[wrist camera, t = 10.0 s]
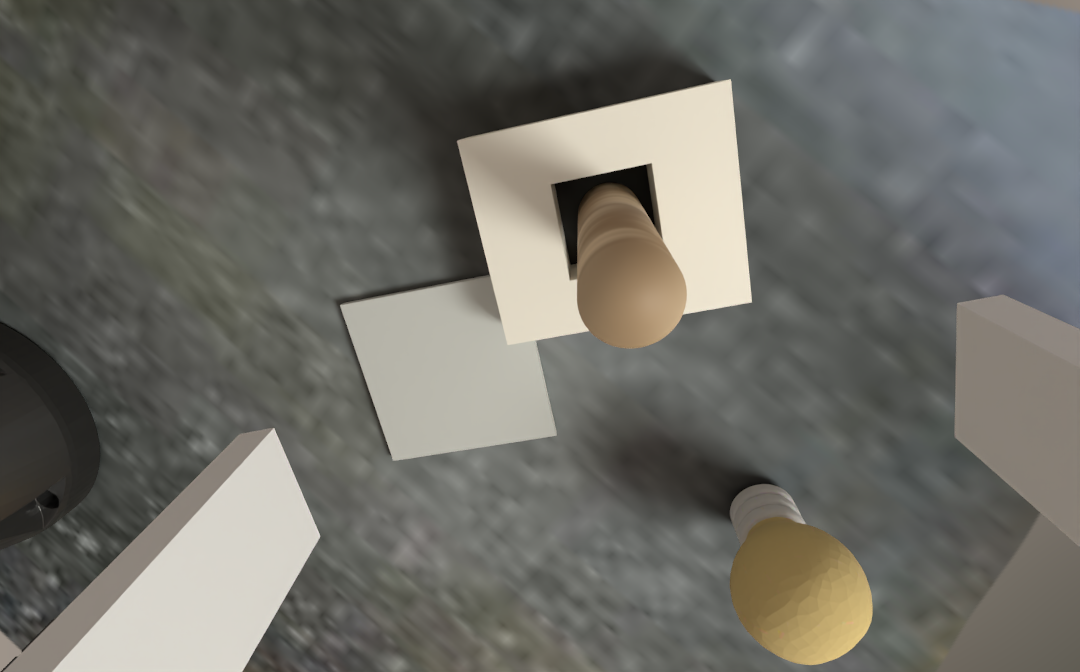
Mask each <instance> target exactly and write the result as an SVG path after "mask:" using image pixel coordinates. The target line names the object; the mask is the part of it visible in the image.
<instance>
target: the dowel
mask: <svg viewBox="0 0 1080 672" xmlns="http://www.w3.org/2000/svg"><path fill="white" fill-rule="evenodd" d="M686 300H687V288H686V283H685V279H684V277H683V274H682V272H681V270H680V268H679V267H678V265H677V263H676V262H675V260H674V258H673V257H672V255H671V253H670V252H669V250H668V248H667V247H666V245H665V243H664V242H663V240H662V238H661V237H660V235H659V233H658V232H657V230H656V228H655V227H654V225H653V223H652V222H651V220H650V218H649V217H648V215H647V213H646V212H645V210H644V208H643V207H642V205H641V203H640V202H639V200H638V198H637V197H636V195H635V194H634V193H633V192H632V191H631V190H630V189H629V188H628V187H626V186H624V185H622V184H619V183H613V182H607V183H602V184H599V185H597V186H595V187H593V188H592V189H590V190H589V191H588V192H587V193H586V194H585V195H584V197H583V198H582V200H581V202H580V205H579V208H578V246H577V306H578V311H579V314H580V316H581V319H582V321H583V323H584V324H585V326H586V327H587V328H588V330H589V331H590V332H591V333H592V334H593V335H594V336H595V337H597V338H598V339H600V340H601V341H603V342H605V343H607V344H609V345H612V346H616V347H620V348H640V347H644V346H648V345H651V344H653V343H655V342H657V341H659V340H661V339H662V338H664V337H665V336H667V335H668V334H669V333H670V332H671V331H672V330H673V329H674V328H675V327H676V325H677V324H678V322H679V321H680V319H681V317H682V315H683V312H684V309H685V306H686Z"/></svg>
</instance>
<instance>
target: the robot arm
mask: <svg viewBox="0 0 1080 672" xmlns="http://www.w3.org/2000/svg"><path fill="white" fill-rule="evenodd" d="M955 438H957V439H958V440H959V441H960V442H961V443H962V444H963V445H964V446H966V447H967V448H968V449H969V450H970V451H971V452H972V453H974V454H975V455H976V456H977V457H978V458H979V459H980V460H982V461H983V462H984V463H985V464H986V465H987V466H988V467H989V468H991V469H992V470H993V471H994V472H995V473H996V474H997V475H999V476H1000V477H1001V478H1002V479H1003V480H1004V481H1005V482H1007V483H1008V484H1009V485H1010V486H1011V487H1012V488H1013V489H1014V490H1016V491H1017V492H1018V493H1019V494H1020V495H1021V496H1022V497H1024V498H1025V499H1026V500H1027V501H1028V502H1029V503H1030V504H1031V505H1033V506H1034V507H1035V508H1036V509H1037V510H1038V511H1039V512H1041V513H1042V514H1043V515H1044V516H1045V517H1046V518H1047V519H1049V520H1050V521H1051V522H1052V523H1053V524H1054V525H1055V526H1057V527H1058V528H1059V529H1060V530H1061V531H1062V532H1063V533H1065V534H1066V535H1067V536H1068V537H1069V538H1070V539H1071V540H1072V541H1074V542H1075V543H1076V544H1077V545H1078V546H1079V547H1080V329H1078V328H1076V327H1074V326H1071V325H1069V324H1067V323H1065V322H1062V321H1060V320H1058V319H1056V318H1054V317H1051V316H1049V315H1047V314H1045V313H1043V312H1040V311H1038V310H1036V309H1034V308H1031V307H1029V306H1027V305H1025V304H1023V303H1020V302H1018V301H1016V300H1014V299H1012V298H1009V297H1007V296H1005V295H1000V296H994V297H989V298H983V299H978V300H972V301H967V302H961V303H957V336H956V391H955ZM99 462H100V445H99V438H98V433H97V429H96V426H95V423H94V420H93V417H92V415H91V412H90V410H89V408H88V406H87V404H86V402H85V400H84V398H83V397H82V395H81V393H80V392H79V390H78V389H77V387H76V386H75V385H74V383H73V382H72V380H71V379H70V378H69V377H68V375H67V374H66V373H65V372H64V371H63V370H62V369H61V367H60V366H59V365H58V364H57V363H56V362H55V361H54V360H53V359H52V358H51V357H50V356H48V355H47V354H46V353H45V352H44V351H43V350H42V349H40V348H39V347H38V346H36V345H35V344H34V343H33V342H31V341H30V340H28V339H27V338H25V337H24V336H22V335H21V334H19V333H18V332H16V331H14V330H12V329H11V328H9V327H7V326H5V325H3V324H1V323H0V550H2V549H4V548H7V547H9V546H11V545H14V544H16V543H19V542H21V541H24V540H26V539H29V538H31V537H33V536H35V535H37V534H39V533H41V532H42V531H44V530H46V529H47V528H49V527H51V526H52V525H53V524H55V523H56V522H57V521H58V520H60V519H61V518H62V517H63V516H65V515H66V514H67V513H68V512H70V511H71V510H72V509H73V508H74V507H76V506H77V505H78V504H79V503H80V502H81V501H82V500H83V499H84V498H85V497H86V496H87V494H88V493H89V491H90V490H91V488H92V486H93V484H94V482H95V480H96V477H97V473H98V469H99ZM319 538H320V534H319V532H318V530H317V527H316V525H315V523H314V520H313V518H312V516H311V513H310V511H309V509H308V506H307V504H306V501H305V499H304V497H303V494H302V492H301V490H300V487H299V485H298V483H297V480H296V478H295V476H294V473H293V471H292V469H291V466H290V464H289V462H288V459H287V457H286V455H285V452H284V450H283V448H282V445H281V443H280V441H279V438H278V436H277V434H276V431H275V429H274V428H271V429H265V430H260V431H254V432H249V433H243V434H239V435H238V436H237V437H236V438H235V439H234V440H233V441H232V442H231V443H230V444H229V445H228V446H227V447H226V448H225V449H224V450H223V451H222V452H221V453H220V454H219V455H218V456H217V457H216V458H215V459H214V460H213V461H212V462H211V463H210V464H209V465H208V466H207V467H206V468H205V469H204V470H203V471H202V472H201V473H200V474H199V475H198V476H197V477H196V478H195V479H194V480H193V481H192V482H191V483H190V484H189V485H188V486H187V488H186V489H185V490H184V491H183V492H182V493H181V494H180V495H179V496H178V497H177V498H176V499H175V500H174V501H173V502H172V503H171V504H170V505H169V506H168V507H167V508H166V509H165V510H164V511H163V512H162V513H161V514H160V515H159V516H158V517H157V518H156V519H155V520H154V521H153V522H152V523H151V524H150V525H149V526H148V527H147V528H146V529H145V530H144V531H143V532H142V533H141V534H140V535H139V536H138V537H137V538H136V539H135V540H134V541H133V542H132V543H131V544H130V545H129V546H128V547H127V548H126V549H125V550H124V551H123V552H122V553H121V554H120V555H119V556H118V557H117V558H116V559H115V560H114V561H113V562H112V563H111V564H110V565H109V566H108V567H107V568H106V569H105V570H104V571H103V572H102V573H101V574H100V575H99V576H98V577H97V578H96V579H95V580H94V581H93V582H92V583H91V584H90V585H89V586H88V587H87V588H86V589H85V590H84V591H83V592H82V593H81V594H80V595H79V596H78V597H77V598H76V599H75V600H74V601H73V602H72V603H71V604H70V605H69V606H68V607H67V608H66V609H65V610H64V611H63V612H62V613H61V614H60V615H59V616H57V617H56V618H55V619H53V620H52V621H51V622H50V623H49V624H48V625H47V626H46V627H45V628H44V629H43V630H42V631H41V632H40V633H39V634H38V635H37V636H36V637H35V638H34V639H33V640H32V641H31V642H30V643H29V644H28V645H27V646H26V647H25V648H24V649H23V650H22V653H21V654H20V655H19V656H18V657H15V658H14V659H13V660H12V661H11V662H10V663H9V664H8V665H7V666H6V667H5V668H4V669H3V670H2V671H1V672H242V671H243V669H244V668H245V666H246V664H247V662H248V661H249V659H250V657H251V656H252V654H253V652H254V650H255V649H256V647H257V645H258V643H259V642H260V640H261V638H262V636H263V635H264V633H265V631H266V630H267V628H268V626H269V624H270V623H271V621H272V619H273V617H274V616H275V614H276V612H277V610H278V609H279V607H280V605H281V604H282V602H283V600H284V598H285V597H286V595H287V593H288V591H289V590H290V588H291V586H292V585H293V583H294V581H295V579H296V578H297V576H298V574H299V572H300V571H301V569H302V567H303V565H304V564H305V562H306V560H307V559H308V557H309V555H310V553H311V552H312V550H313V548H314V546H315V545H316V543H317V541H318V540H319Z"/></svg>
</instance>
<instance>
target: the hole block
mask: <svg viewBox="0 0 1080 672" xmlns="http://www.w3.org/2000/svg"><path fill="white" fill-rule="evenodd" d="M457 143H458V147H459V151H460V155H461V159H462V163H463V167H464V171H465V176H466V180H467V184H468V188H469V192H470V196H471V200H472V204H473V208H474V212H475V216H476V220H477V224H478V228H479V232H480V236H481V240H482V244H483V248H484V252H485V256H486V260H487V264H488V268H489V272H490V276H491V280H492V284H493V288H494V292H495V296H496V300H497V305H498V309H499V313H500V317H501V321H502V325H503V329H504V333H505V337H506V341H507V345H512V344H518V343H523V342H529V341H535V340H540V339H546V338H552V337H557V336H563V335H569V334H574V333H580V332H586V331H589V330H588V328H587V327H586V326H585V324H584V323H583V321H582V319H581V316H580V314H579V311H578V306H577V264H573V265H570V260H569V255H568V250H567V245H566V240H565V234H564V229H563V224H562V219H561V214H560V209H559V204H558V199H557V194H556V189H555V183H560V182H564V181H569V180H574V179H579V178H583V177H588V176H593V175H598V174H603V173H607V172H612V171H617V170H622V169H626V168H631V167H636V166H641V165H645V164H646V167H647V174H648V181H649V188H650V194H651V201H652V208H653V215H654V222H655V228H656V230H657V232H658V233H659V235H660V237H661V238H662V240H663V242H664V243H665V245H666V247H667V248H668V250H669V252H670V253H671V255H672V257H673V258H674V260H675V262H676V263H677V265H678V267H679V268H680V270H681V272H682V274H683V277H684V279H685V283H686V288H687V300H686V306H685V309H684V312H683V314H688V313H693V312H699V311H705V310H710V309H716V308H722V307H727V306H733V305H739V304H744V303H750V302H752V299H751V288H750V278H749V267H748V257H747V246H746V235H745V225H744V214H743V204H742V193H741V183H740V172H739V161H738V151H737V140H736V130H735V119H734V109H733V98H732V87H731V80H723V81H716V82H712V83H707V84H703V85H698V86H694V87H689V88H685V89H680V90H676V91H671V92H667V93H662V94H658V95H654V96H649V97H645V98H640V99H636V100H631V101H627V102H622V103H618V104H613V105H609V106H604V107H600V108H596V109H591V110H587V111H582V112H578V113H573V114H569V115H564V116H560V117H555V118H551V119H546V120H542V121H538V122H533V123H529V124H524V125H520V126H515V127H511V128H506V129H502V130H497V131H493V132H488V133H484V134H480V135H475V136H471V137H467V138H464V139H461V140H458V141H457Z"/></svg>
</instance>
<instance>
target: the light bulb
mask: <svg viewBox="0 0 1080 672" xmlns="http://www.w3.org/2000/svg"><path fill="white" fill-rule="evenodd" d="M730 517H731V521H732V523H733V526H734V529H735V532H736V535H737V537H738V540H739V543H740V545H741V547H740V549H739V551H738V552H737V554H736V556H735V559H734V561H733V565H732V570H731V575H730V590H731V597H732V602H733V605H734V608H735V610H736V613H737V615H738V617H739V619H740V621H741V622H742V624H743V625H744V627H745V628H746V630H747V631H748V632H749V633H750V634H751V636H752V637H753V638H754V639H755V640H756V641H758V642H759V643H760V644H761V645H762V646H763V647H764V648H766V649H768V650H769V651H771V652H772V653H774V654H776V655H777V656H779V657H781V658H784V659H786V660H789V661H791V662H794V663H799V664H806V665H815V664H821V663H824V662H827V661H831V660H834V659H836V658H838V657H840V656H842V655H843V654H845V653H847V652H848V651H849V650H851V649H852V648H853V647H854V646H855V645H856V644H857V643H858V642H859V641H860V640H861V638H862V637H863V636H864V635H865V634H866V632H867V630H868V628H869V626H870V623H871V619H872V597H871V591H870V588H869V584H868V581H867V579H866V576H865V574H864V572H863V570H862V568H861V566H860V565H859V563H858V562H857V560H856V559H855V557H854V556H853V554H852V553H851V552H850V551H849V550H848V549H847V548H846V547H845V546H844V545H843V544H842V543H841V542H840V541H838V540H837V539H835V538H834V537H832V536H831V535H829V534H827V533H826V532H824V531H822V530H820V529H818V528H815V527H813V526H809V525H806V523H805V521H804V520H803V518H802V517H801V514H800V512H799V510H798V509H797V507H796V505H795V503H794V501H793V499H792V497H791V496H790V495H789V494H788V493H787V492H786V491H785V490H783V489H782V488H780V487H777V486H774V485H771V484H759V485H754V486H750V487H748V488H746V489H744V490H743V491H741V492H740V493H739V494H738V495H737V496H736V497H735V498H734V500H733V502H732V504H731V508H730Z"/></svg>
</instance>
